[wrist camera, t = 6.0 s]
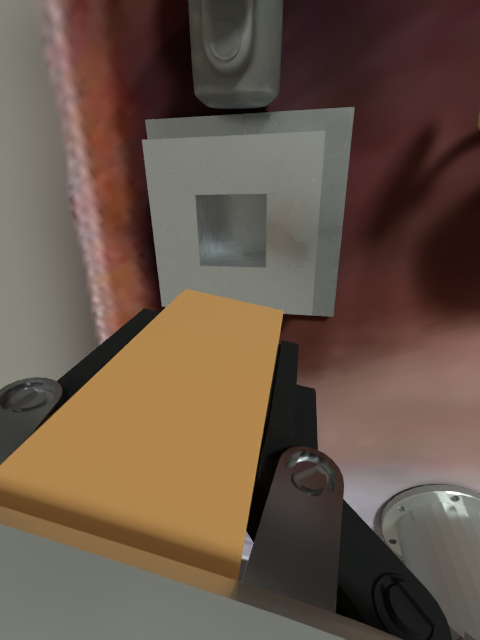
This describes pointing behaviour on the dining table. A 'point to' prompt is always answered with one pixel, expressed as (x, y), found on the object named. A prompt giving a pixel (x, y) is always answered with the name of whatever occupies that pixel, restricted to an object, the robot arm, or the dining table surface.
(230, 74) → the pipe fitting
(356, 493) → the dining table surface
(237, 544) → the orange rectangular block
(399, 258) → the dining table surface
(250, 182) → the square hole block
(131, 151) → the dining table surface
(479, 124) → the wall sconce
